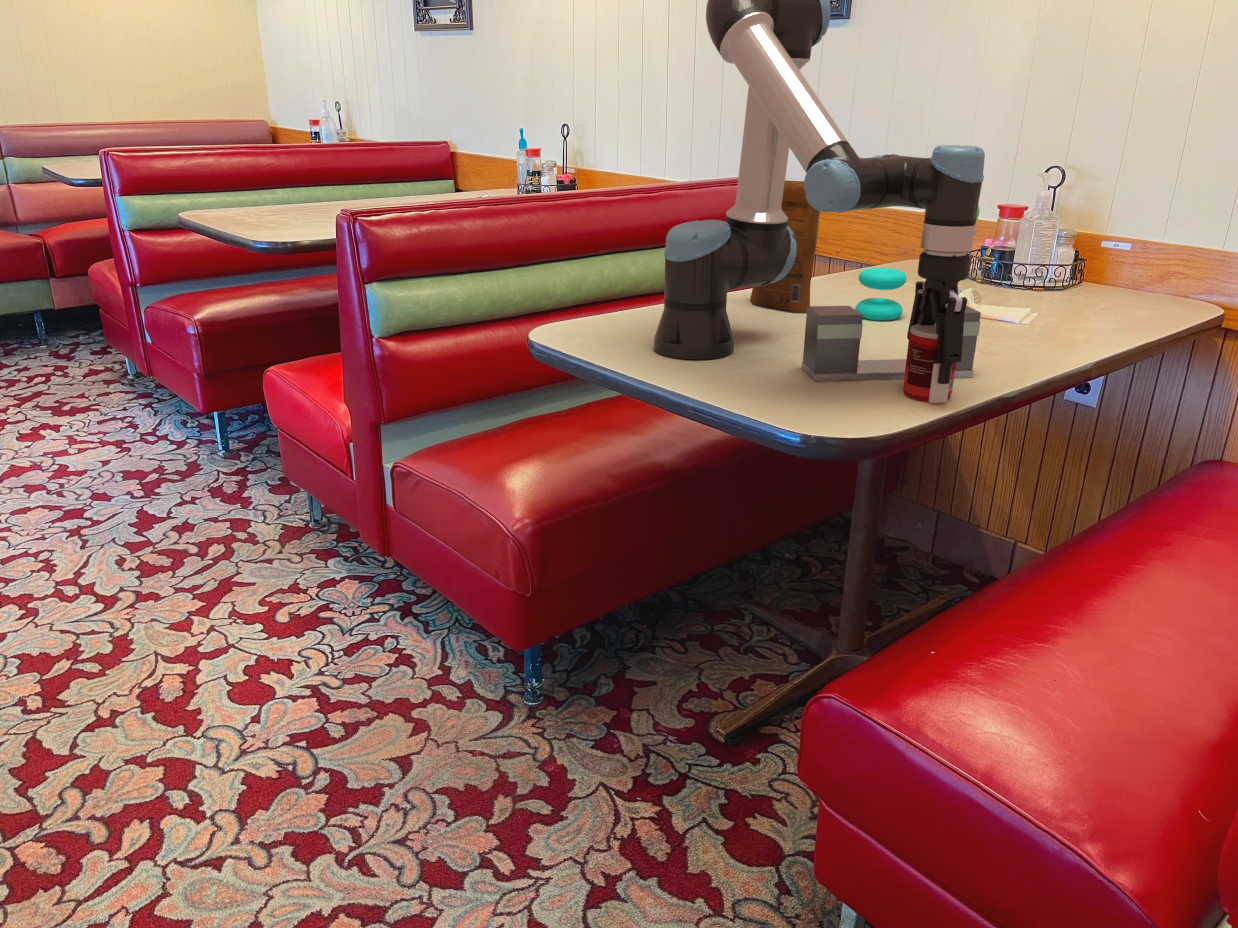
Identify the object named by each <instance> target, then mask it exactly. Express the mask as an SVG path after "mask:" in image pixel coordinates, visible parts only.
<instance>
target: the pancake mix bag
mask: <svg viewBox="0 0 1238 928" xmlns="http://www.w3.org/2000/svg"><path fill="white" fill-rule="evenodd" d="M805 196H806V193H805V189H804V180H803V181H802V180H801V181H800V180H785V184H784V191H783V199H782V206H781V208H782V211H783V212H784V213H785V214H786V216H787V217H788V222H787V226H788V227H790V229H791V230H792V232H793V234H794V236H793V238H794V239H795V240H796V247H797V249H796V257H795V261H794V263H793V266H792V268H791V269H790V271H789V272H788V274H787V275H786V276H785V277H783V278H782V279H781V280H779V281H777V282H775V283H770V284H768V285H765V286H760V287H755V286H754V287H751V288H752V290H751V293H750V299H749V302H750V304H751V305H752V306H755V307H761V308H766V309H771V310H777V311H782V312H783V311H784V312H788V313H793V314H794V313H795V314H805V313H806V314H807V306H811V282H812V277H813V269H814V262H815V261H814V260H815V255H816V250H817V242H818V234H819V233H818V232H819V227H820V226H819V224H820V215H821V211H817V210H816V209H814V208H813V207H811V206H810V204H809V203H808V202H807V200H806V197H805Z"/></svg>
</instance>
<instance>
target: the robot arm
mask: <svg viewBox="0 0 1238 928" xmlns="http://www.w3.org/2000/svg"><path fill="white" fill-rule="evenodd" d="M705 11H706V12H705V21H706V26H707V27H706V28H707V32H708V34H709V36H710V40H711V42H712V44H713V45H714V47H715V49H716V51H717V52H718V53H719V55H720V57H721V58H722V59H723V61H724V62H726V63H729V64H732V65H733V64H734V66H735V67H736V69H737V70H738V71H739V74H740V75H741V76H742V78H743V80H744V81H745V83H746V84H747V86H748V90H747V96H746V107H745V108H746V109H745V116H744V125H743V133H742V143H741V153H740V162H739V169H738V179H737V185H736V186H737V187H736V197H735V204H734V205H733V206H732V207H730V208H729V209H728V210H727V211H726V215H725V221H724V220H721V219H704V220H694V221H687V222H684V223H683V222H682V223H679V224H677V225H675V226H673V227H671V229H669V230H668V232H667V234H666V239H665V248H664V252H663V253H664V254H663V255H664V293H663V294H664V296H663V298H664V301H663V310H662V313H661V317H660V319H659V322H658V325H657V329H656V330H655V335H654V338H653V349H654V351H655V352H656V353H658V354H660V355H663V356H665V357H668V358H669V357H670V358H673V359H674V358H675V359H683V360H711V359H713V360H714V359H719V358H724V357H727V356H729V355H731V354H732V353H733V352H734V347H735V337H734V334H733V329H732V326H731V322H730V319H729V316H728V313H727V301H728V300H727V298H728V291H732V290H741V289H746V288H752V287H754V286H755V287H760V286H765V285H768V284H770V283H775V282H777V281H779V280H781V279H782V278H783V277H785V276H786V275H787V274H788V272H789V271H790V269H791V268H792V266H793V263H794V261H795V257H796V249H797V247H796V240H795V239H794V238H793V236H794V234H793V232H792V230H791V229H790V227H788V226H787V222H788V217H787V216H786V214H785V213H784V212H783V211H782V208H781V206H782V199H783V191H784V184H785V181H786V176H787V168H788V161H789V152H790V151H791V152H792V154H793V155H794V156H795V158H796V160H797V161H798V162H799V164H800V166H801V167H802V169H803V170H804V172H805V173H806V174H805V176H804V180H803V181H804V189H805V193H806V196H805V197H806V200H807V202H808V203H809V204H810V206H811V207H813V208H814V209H816V210H817V211H820V213H837V214H840V213H845V212H850V211H857V210H858V211H859V210H869V209H872V210H873V209H881V208H882V209H883V208H891V207H892V208H893V207H902V208H904V207H905V208H914V209H923V210H924V216H923V217H924V220H923V224H922V233H921V239H920V249H922V250H923V251H922V252H921V253H920V254H919V258H918V266H917V274H918V277H920V278H922V279H925V280H921V281H920V280H919V281H916V282H915V288H914V289H915V291H914V293H915V294H914V300H913V305H912V308H911V309H912V310H911V314H910V319H909V325H908V331H907V336H906V338H907V340H908V341H909V335H910V329H911V326H913V325H916V324H920V325H935V322H936V334H937V335H938V340H937V359H936V360H933V363H934V365H933V373H932V380H931V387H930V395H929V402H928V403H930V404H937V403H939V404H941V403H948V392H949V385H950V378H951V371H952V364H953V363H958V362H961V359H962V344H963V329H964V314H965V309H966V306H968V305H967V303H968V298H967V297H966V296H963V297H960V296H959V289H958V288H959V282H961V281H965V280H967V279H968V278H969V273H970V267H971V261H972V256H971V255H970V254H969V252H971V251H972V249H973V245H974V240H975V239H974V238H975V236H976V235H977V230H976V225H977V221H976V216H977V209H978V206H979V202H980V197H981V193H982V192H981V191H982V185H983V182H984V178H985V176H984V171H985V170H984V167H985V151H984V149H983V147H980V146H976V145H966V144H965V145H959V144H955V145H954V144H953V145H951V144H946V145H945V144H944V145H943V144H942V145H941V144H940V145H937V146H935V147H934V149H933V150H932V155H931V156H930V157H917V156H906V155H899V154H893V153H892V154H877V155H874V156H872V157H860V156H859V155H858V154H857V152H856V150H855V149H854V148H853V146H851V144H850V142H849V141H848V139H846V137H845V135H844V134H843V132H842V130H840V128H839V126H838V125H837V123H836V122H835V120H834V119H833V117H832V116H831V115H830V113H829V112H828V110H827V109H826V107H825V106H824V104H823V103H822V102H821V100H820V99H819V97H818V96H817V94H816V93H815V91H814V90H813V88H812V86H811V85H810V84H809V82H808V81H807V79H806V78H805V77H804V75H803V74H802V72H801V69H802V68H803V67H804V66H806V65H807V64H808V63H809V62H810V61H811V55H812V47H814V46H816V45H817V44H819V43H820V42H821V41H822V38H823V36H825V35H826V33H827V31H828V28H829V26H830V20H831V2H830V0H707V3H706V9H705ZM967 252H968V253H967Z"/></svg>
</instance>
